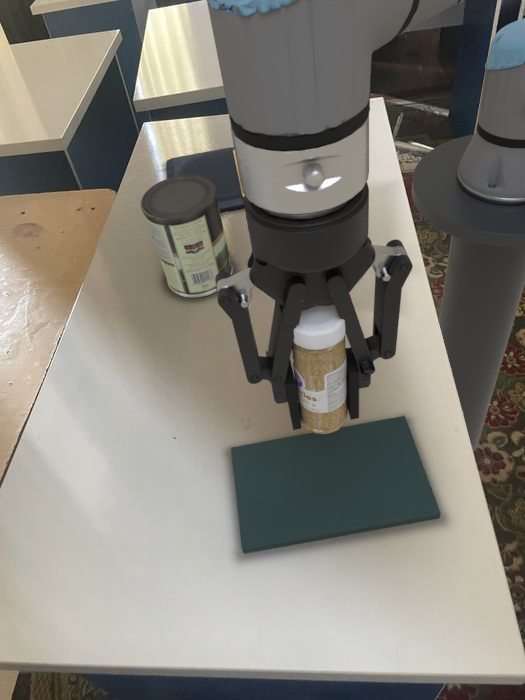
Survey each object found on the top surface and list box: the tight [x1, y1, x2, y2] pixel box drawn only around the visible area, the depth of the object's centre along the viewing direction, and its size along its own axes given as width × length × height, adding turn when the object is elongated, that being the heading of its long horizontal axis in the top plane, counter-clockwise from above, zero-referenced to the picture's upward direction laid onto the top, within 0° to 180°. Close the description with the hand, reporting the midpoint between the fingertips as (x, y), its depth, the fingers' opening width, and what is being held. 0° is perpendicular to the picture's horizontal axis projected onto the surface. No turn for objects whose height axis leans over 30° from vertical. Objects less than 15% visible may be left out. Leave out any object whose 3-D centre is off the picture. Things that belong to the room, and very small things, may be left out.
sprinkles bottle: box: [291, 305, 349, 434], centre depth 46 cm, size 5×5×14 cm
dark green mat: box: [230, 415, 442, 554], centre depth 61 cm, size 20×12×1 cm, turn 98°
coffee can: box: [140, 175, 234, 299], centre depth 81 cm, size 10×10×14 cm
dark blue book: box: [165, 146, 245, 213], centre depth 102 cm, size 20×2×15 cm
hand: (322, 411), depth 51 cm, fingers closed on sprinkles bottle, 4 cm apart
